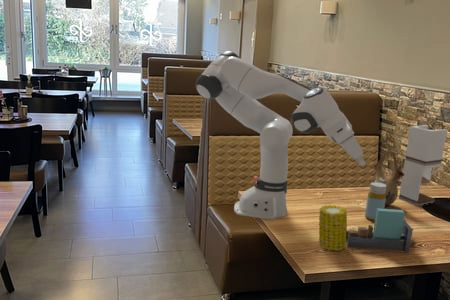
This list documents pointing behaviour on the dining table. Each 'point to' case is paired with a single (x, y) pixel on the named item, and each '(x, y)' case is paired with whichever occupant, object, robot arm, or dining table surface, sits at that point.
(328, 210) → the food
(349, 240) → the rack
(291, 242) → the dining table surface
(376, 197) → the bottle
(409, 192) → the white model tower
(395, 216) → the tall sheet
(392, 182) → the ceramic vessel
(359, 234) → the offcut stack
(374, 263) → the dining table surface
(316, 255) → the dining table surface
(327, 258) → the dining table surface
